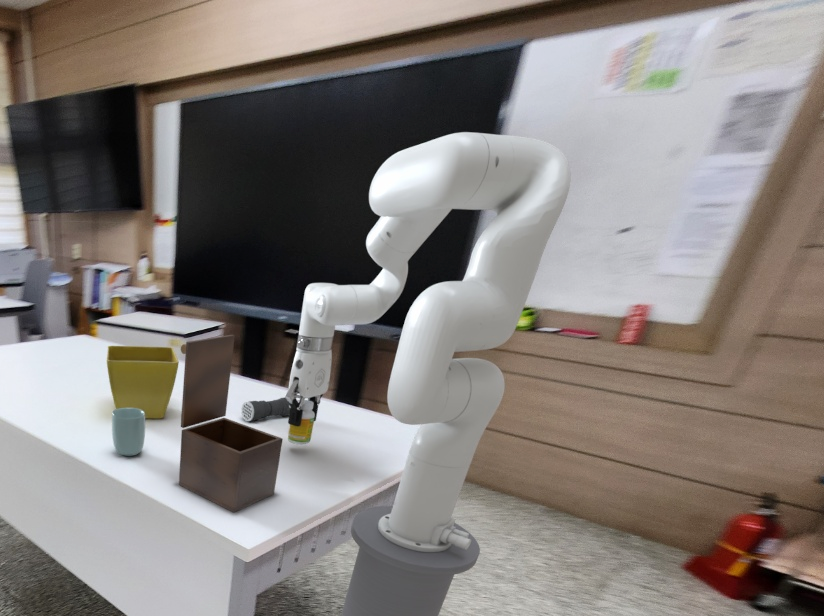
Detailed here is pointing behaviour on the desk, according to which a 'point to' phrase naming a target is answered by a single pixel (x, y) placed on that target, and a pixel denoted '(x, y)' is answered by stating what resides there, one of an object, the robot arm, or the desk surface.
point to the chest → (229, 463)
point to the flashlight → (265, 409)
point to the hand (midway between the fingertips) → (302, 421)
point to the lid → (206, 379)
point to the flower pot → (142, 377)
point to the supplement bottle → (303, 425)
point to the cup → (128, 430)
